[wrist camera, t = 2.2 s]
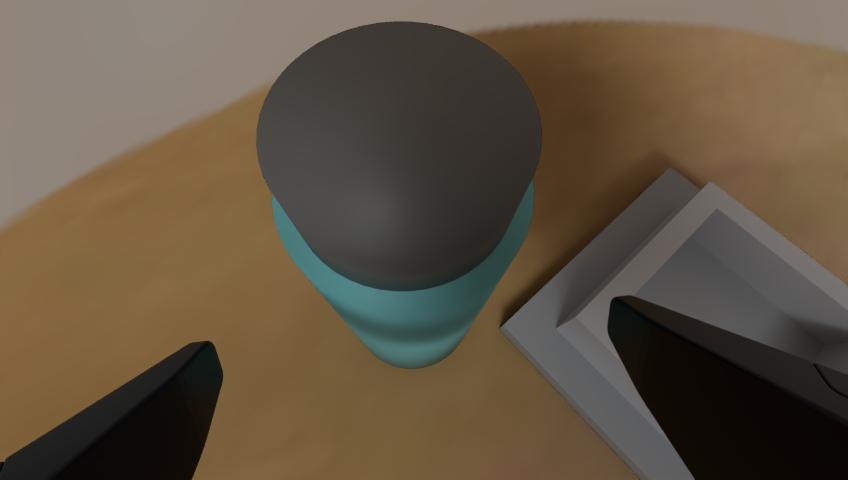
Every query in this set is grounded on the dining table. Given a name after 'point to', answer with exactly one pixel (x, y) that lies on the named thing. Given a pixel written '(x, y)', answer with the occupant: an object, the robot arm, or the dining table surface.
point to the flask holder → (675, 306)
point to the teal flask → (401, 179)
